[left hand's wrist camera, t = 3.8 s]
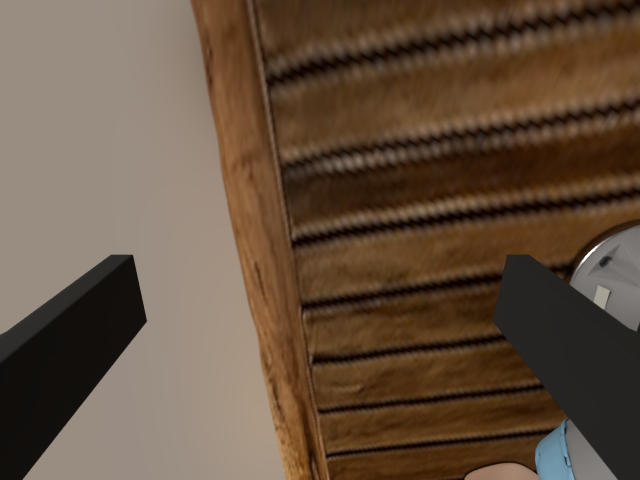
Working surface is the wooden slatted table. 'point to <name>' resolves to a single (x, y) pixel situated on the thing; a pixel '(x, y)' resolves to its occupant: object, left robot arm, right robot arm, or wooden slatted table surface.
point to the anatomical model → (503, 473)
